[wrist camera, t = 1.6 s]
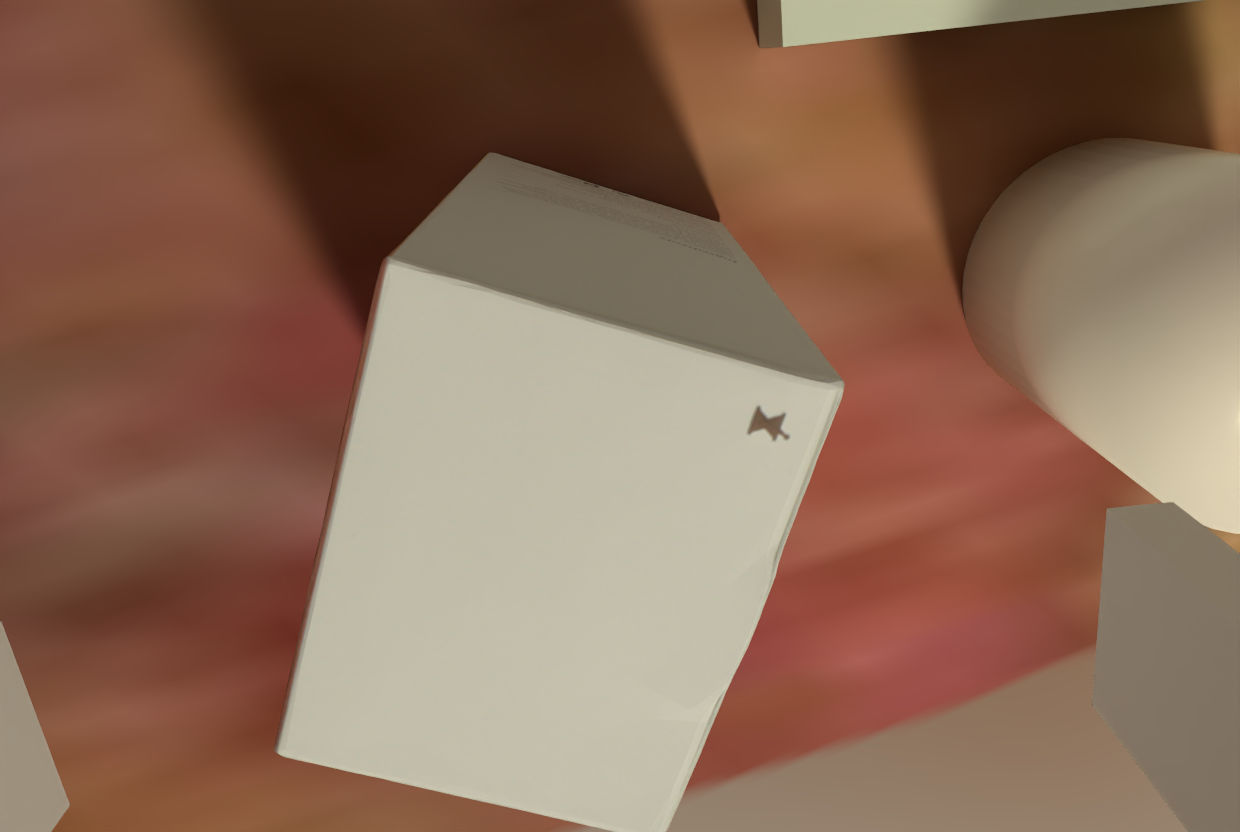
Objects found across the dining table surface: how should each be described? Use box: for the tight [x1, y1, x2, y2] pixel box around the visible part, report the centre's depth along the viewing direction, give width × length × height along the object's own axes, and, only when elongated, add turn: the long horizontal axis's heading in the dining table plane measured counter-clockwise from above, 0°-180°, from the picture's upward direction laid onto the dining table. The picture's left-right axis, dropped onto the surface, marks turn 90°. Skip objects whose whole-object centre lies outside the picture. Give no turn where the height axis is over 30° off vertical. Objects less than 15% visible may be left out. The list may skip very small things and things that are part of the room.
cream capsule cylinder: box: [962, 138, 1240, 534], centre depth 22 cm, size 7×7×8 cm
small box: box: [274, 152, 844, 832], centre depth 20 cm, size 8×6×13 cm
